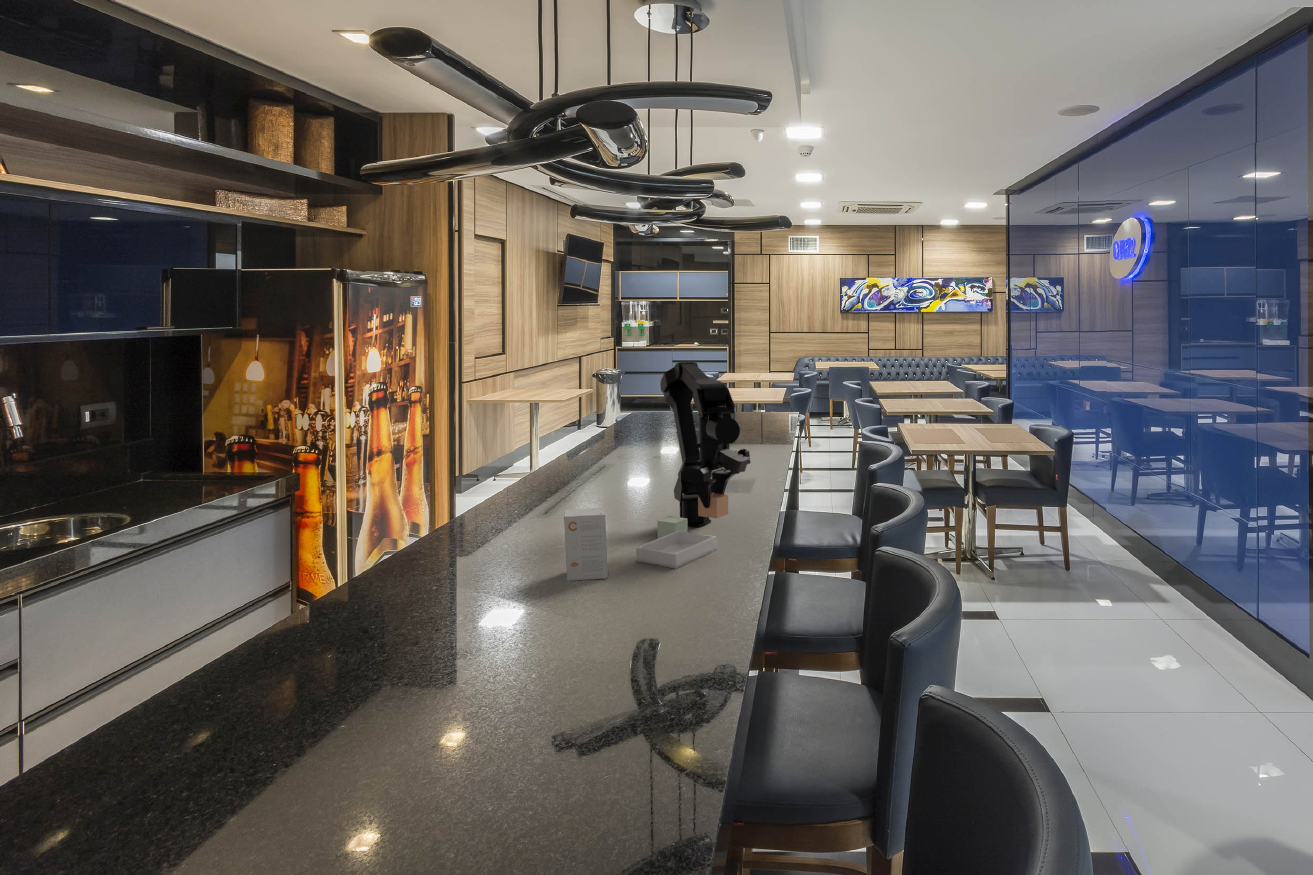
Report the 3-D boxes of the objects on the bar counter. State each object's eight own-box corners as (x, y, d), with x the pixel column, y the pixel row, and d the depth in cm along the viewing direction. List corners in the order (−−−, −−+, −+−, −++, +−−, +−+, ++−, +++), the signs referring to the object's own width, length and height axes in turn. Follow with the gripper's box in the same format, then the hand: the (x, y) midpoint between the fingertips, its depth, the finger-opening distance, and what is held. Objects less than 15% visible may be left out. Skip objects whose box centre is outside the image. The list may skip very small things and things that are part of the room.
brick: (698, 515, 187) (698, 496, 187) (709, 511, 191) (709, 492, 191) (717, 518, 184) (716, 499, 184) (728, 513, 188) (728, 494, 188)
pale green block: (657, 539, 189) (657, 520, 188) (669, 534, 193) (669, 516, 192) (675, 542, 186) (675, 523, 185) (687, 537, 190) (687, 518, 189)
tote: (636, 561, 171) (636, 547, 171) (678, 543, 184) (678, 530, 184) (676, 568, 165) (675, 554, 165) (716, 549, 178) (716, 536, 178)
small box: (606, 569, 166) (604, 506, 164) (608, 579, 160) (605, 514, 158) (566, 571, 166) (564, 508, 164) (566, 581, 159) (563, 516, 157)
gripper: (721, 446, 173) (722, 518, 175) (762, 435, 188) (763, 501, 190) (677, 442, 180) (679, 512, 182) (721, 432, 195) (722, 496, 197)
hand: (713, 505), depth 188 cm, fingers closed on brick, 5 cm apart
